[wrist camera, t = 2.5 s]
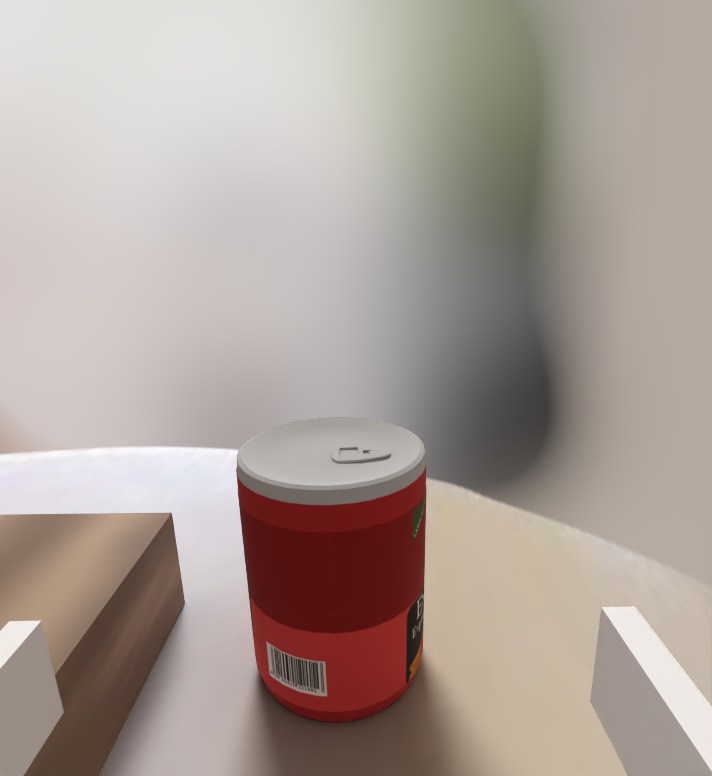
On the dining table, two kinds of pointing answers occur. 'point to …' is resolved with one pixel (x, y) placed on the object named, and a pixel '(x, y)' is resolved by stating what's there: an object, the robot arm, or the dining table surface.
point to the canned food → (335, 562)
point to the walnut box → (91, 618)
